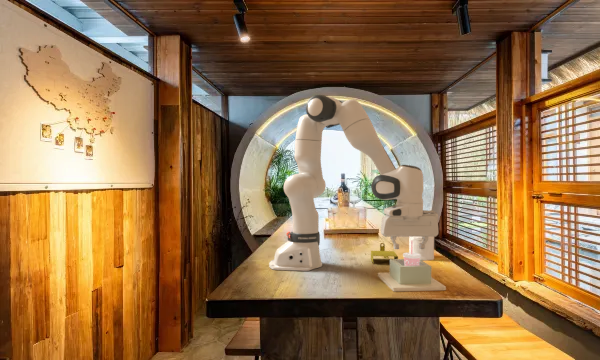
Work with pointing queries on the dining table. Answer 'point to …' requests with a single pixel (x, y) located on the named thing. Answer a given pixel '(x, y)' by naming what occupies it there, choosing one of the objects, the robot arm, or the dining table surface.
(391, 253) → the bracket
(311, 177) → the robot arm
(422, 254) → the jar
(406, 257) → the beverage cup
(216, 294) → the dining table surface
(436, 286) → the cup well
